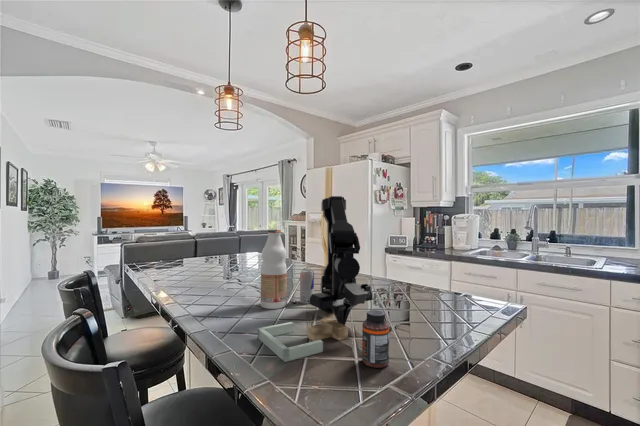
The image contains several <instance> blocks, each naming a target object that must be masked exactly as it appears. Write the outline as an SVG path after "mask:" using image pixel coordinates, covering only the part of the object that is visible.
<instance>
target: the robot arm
mask: <svg viewBox="0 0 640 426" xmlns="http://www.w3.org/2000/svg"><path fill="white" fill-rule="evenodd" d="M320 206H321V207H320V208H321V212H322V216H323V219H324V220H325V222H326V224H327V225H326V227H327V228H326V229H327V231H326V232H327V233H326V235H327V239H326V240H327V241H326V242H327V244H326V245H327V246H326V247H327V257H326V258H327V264H326V266H325V267H324V269H323V271H322V275H321V278H320V292H318V293H314V294H312V295H311V297H310V304H309V305H311V306H313V307H316V308H318V309H321V310H323V311H326V312H328V313H329V314H331V313H333V315H334V317H335V319H336V322H338V323H340V324H343V325H345V326H346V323H347V320H348V318H349V314H350V312H351V311H352V309H353V308H355V306H358V305H359V304H363V305H364V304H365V303H366V302H368V301H373V300H374V299H373V291H372V287H371V285H370V284H369V283H363V284H358V283H357V279H356V277H357V276H358V274H359V273H360V270H361V268H360V267H361V266H360V263H359V261H358V260H357V259H356V258H355V256H354V255H355V254H356V255H357V254H358V255H359V254H360V250H361V246H360V245H361V244H360V239H359V237H358V235H357V232H355V229H354V226H353V225H352V224H351V223H349V222H348V219H347V218H348V217H347V212H346V211H347V199H345V198H344V196H342V195H338V196H337V195H336V196H335V195H331V196H329V197H328V198H322V200H321V203H320Z"/></svg>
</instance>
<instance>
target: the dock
mask: <svg viewBox="0 0 640 426" xmlns="http://www.w3.org/2000/svg"><path fill="white" fill-rule="evenodd" d="M290 333H294V322H293V321H290V322H289V321H287V322H284V323H279V324H274V325H269V326H268V325H267V326H263V327H262V326H261V327H258V328H257V339H258V340H259V341H260V342H261V343H263V344H264V345H265V346H266V347H267V348H269V349H270V351H272V352H273V353H274V354H275V355H277V357H278V358H279V359H281V360H282V361H283V362H284V363H285V362H290V361H291V362H292V361H294V360H298V359H301V358H305V357H310V356H313V355H316V354H320V353H323V352H324V341H323V340H322V339H321V340H317V341H309V342H306V343H301V344H298V345H292V346H290V347H287V346H286V345H285V344H283V342H281V341H280V340H279V339H277V338H276V336H281V335H286V334H290Z"/></svg>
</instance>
